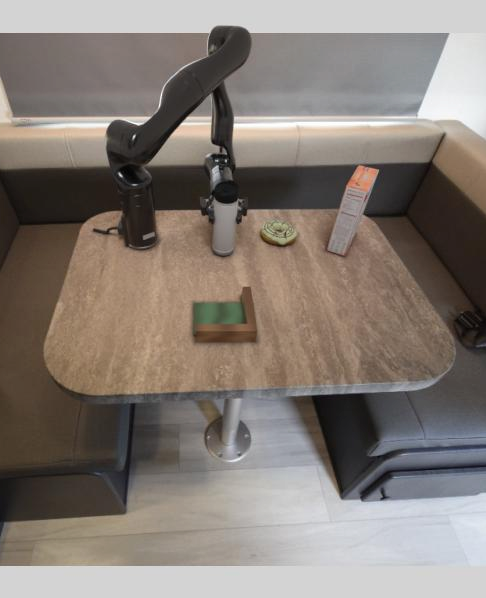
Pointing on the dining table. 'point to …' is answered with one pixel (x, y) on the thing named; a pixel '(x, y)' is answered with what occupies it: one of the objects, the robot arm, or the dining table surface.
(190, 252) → the dining table surface
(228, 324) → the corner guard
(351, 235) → the cracker box
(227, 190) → the travel mug
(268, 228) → the decorated donut
